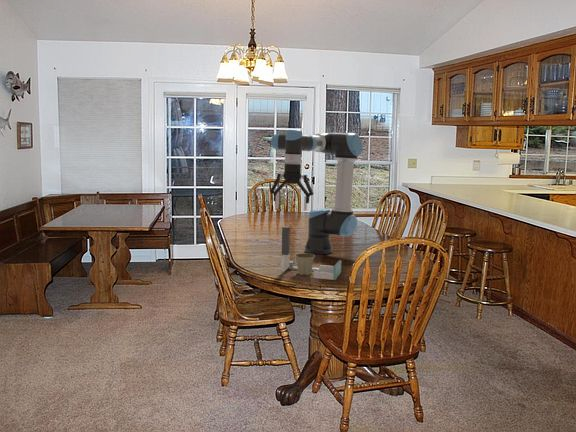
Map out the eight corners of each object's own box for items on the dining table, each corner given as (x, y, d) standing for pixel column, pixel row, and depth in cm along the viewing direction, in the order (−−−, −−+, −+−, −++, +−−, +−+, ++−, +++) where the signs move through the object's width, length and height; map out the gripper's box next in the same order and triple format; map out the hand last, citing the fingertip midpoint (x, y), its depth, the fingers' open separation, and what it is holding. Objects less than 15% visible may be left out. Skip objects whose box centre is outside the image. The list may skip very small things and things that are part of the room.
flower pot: (310, 276, 280) (311, 258, 278) (291, 274, 283) (291, 256, 282) (317, 272, 288) (317, 254, 287) (298, 270, 292) (298, 252, 290)
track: (284, 267, 296) (284, 265, 296) (319, 270, 291) (319, 268, 291) (283, 268, 294) (283, 266, 294) (318, 271, 290) (318, 269, 289)
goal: (320, 271, 291) (320, 258, 290) (340, 272, 288) (341, 260, 287) (313, 278, 277) (314, 265, 277) (335, 279, 275) (335, 266, 274)
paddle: (285, 264, 296) (286, 223, 293) (293, 265, 295) (294, 224, 292) (278, 270, 283) (279, 228, 280) (286, 271, 282) (287, 228, 279)
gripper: (264, 162, 281) (262, 208, 284) (317, 165, 275) (315, 211, 278) (269, 162, 288) (267, 206, 291) (320, 164, 282) (318, 210, 285)
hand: (290, 209), depth 284 cm, fingers open, 13 cm apart
